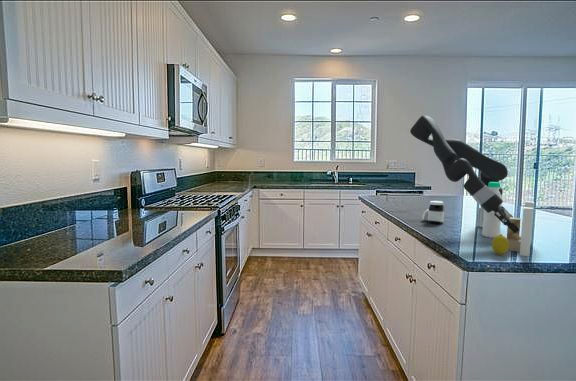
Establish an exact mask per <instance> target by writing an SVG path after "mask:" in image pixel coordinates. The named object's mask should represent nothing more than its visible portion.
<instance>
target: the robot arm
mask: <svg viewBox="0 0 576 381" xmlns="http://www.w3.org/2000/svg"><path fill="white" fill-rule="evenodd" d="M409 133H410V134H411V135H412V136H413V137H414V138H415V139H417V140H419V141H421V142H423V143H425V144H427V145H429V146H430V147H433V151H434V152H433V153H434V154H435V156H436V157H437V159H438V160H439V161H440V163H441V164H442V167H443V171H444V174H445V176H446V178H447V179H448V180H449V181H451V182H454V183H457V182H459V181H460V180H462V179H463V178H464V177H466V175H468V178H467V179H466V181H465V183H464V184H463V188H464V189H465V191H466V192H467V193H468V194H469V195H470V196H471V197H473V199H474V201H475V202H476V203H477V204H478V205H479V206H480V207H479V208H478V211H477V212H478V214H477V227H479V228H482V229H483V220H484V218H483V214H484V210H485V211H486V212H487V213H489V212H491V211H494V212H495V213H494V215H495V216H496V217H497V218H498V219H499V220H500V223H502V225H504V226H506V227H509V228H510V229H511V230H512V231H513V232H514V233H516V232H518V231H519V228H518V227H517V226H516V225H515V224H514V223H513V222H512V221H511V220H510V217H513V218H514V216H513V215H512V214H511V213H510V212H509V211H508V210H507V209H506V208H505V207H504V206H503V205H502V207H501V206H499V205H500V204H503V203H504V201H503V198H502V199H501V198H500V197H499V196H498V195H496V194H495V193H494V192H493V191H492V190H491V189H490V188H489V187H488V183H489V182H499V183H500V181H503V180H505V179H506V178H507V177H508V174H509V173H508V172H509V171H508V168H507V166H506V165H505V164H504V163H502V162H499V161H497V160H495V159H493V158H491V157H488V156H486V155H485V154H483V153H482V152H480V150H477V149H476V148H474V147H473V146H471V145H469V144H468V143H466V142H465V141H463V140H462V139H459V138H445V136H444V134H443V132H442V131H441V129H440V127H439V125H438V124H437V122H436V121H435V120H434V119H433V118H432V117H431V116H429V115H426V114H425V115H424V114H423V115H421V116H420V117H419V118H418V119H417V121H415V123H414V124H413V126H412V127H411V128H410V131H409ZM474 168H475V169H477V170H479V171H480V175H479V176H480V177H479V176H478V174H477V173H476V172H475V170H474ZM499 192H500V195H501V196H502V197H503V192H504V190H503V188H502V187H501V186H500V188H499Z"/></svg>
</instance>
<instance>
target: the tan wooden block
mask: <svg viewBox="0 0 576 381" xmlns="http://www.w3.org/2000/svg"><path fill="white" fill-rule="evenodd" d="M510 220H511V221H512V222H513V223H514V224H515V225H516V226H517V227H518V228H519V231H518V232H516V233H514V232H513V231H512V230H511V229H510V228H509V227H508V226H506V227H507V231H506V238H507V239H515V240H521V239H519V236H520V234H521V233H520V232H521V231H520V230H521V221H522V220H521V217H514V216H513V217H510Z"/></svg>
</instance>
